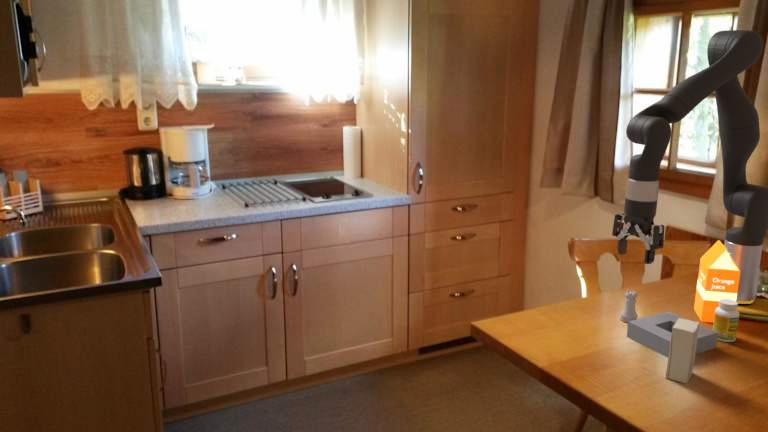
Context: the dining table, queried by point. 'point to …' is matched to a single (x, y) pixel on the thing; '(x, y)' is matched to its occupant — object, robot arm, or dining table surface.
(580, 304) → the dining table surface
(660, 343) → the socket block
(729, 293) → the orange juice
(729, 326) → the supplement bottle
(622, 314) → the rook chess piece
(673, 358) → the skincare box
